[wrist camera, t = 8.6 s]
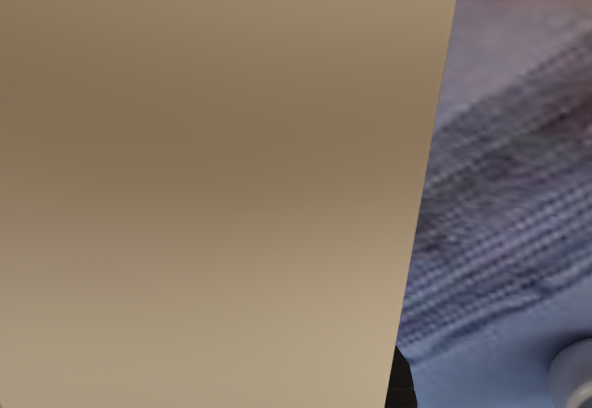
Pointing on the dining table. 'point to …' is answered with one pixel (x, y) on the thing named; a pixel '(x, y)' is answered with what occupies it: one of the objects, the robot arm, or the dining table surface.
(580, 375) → the plastic bottle
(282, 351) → the maple rail
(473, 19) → the dining table surface
